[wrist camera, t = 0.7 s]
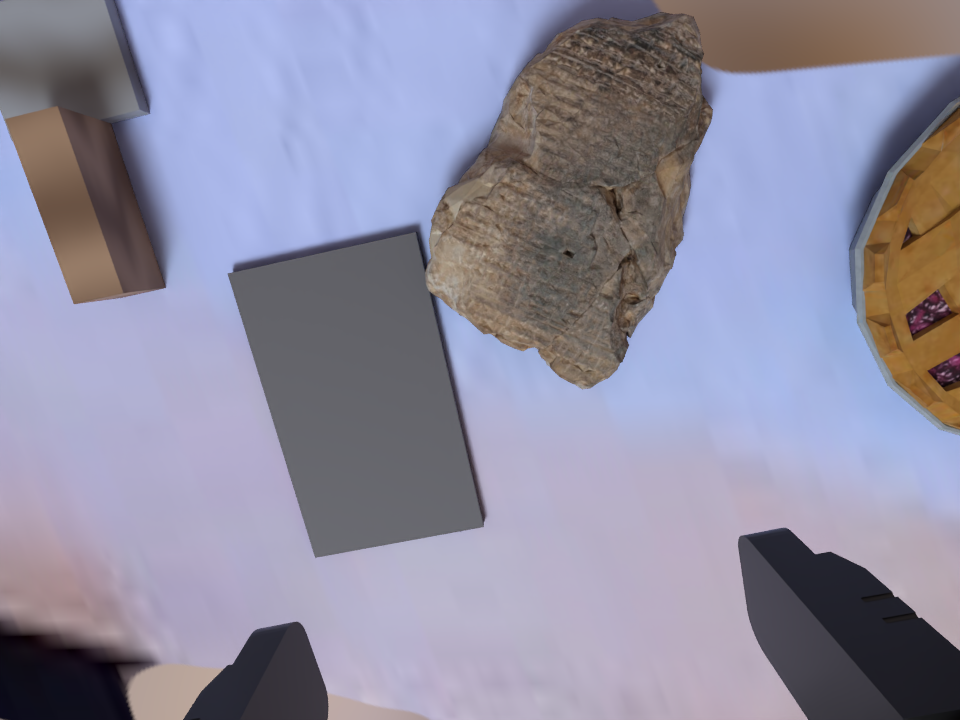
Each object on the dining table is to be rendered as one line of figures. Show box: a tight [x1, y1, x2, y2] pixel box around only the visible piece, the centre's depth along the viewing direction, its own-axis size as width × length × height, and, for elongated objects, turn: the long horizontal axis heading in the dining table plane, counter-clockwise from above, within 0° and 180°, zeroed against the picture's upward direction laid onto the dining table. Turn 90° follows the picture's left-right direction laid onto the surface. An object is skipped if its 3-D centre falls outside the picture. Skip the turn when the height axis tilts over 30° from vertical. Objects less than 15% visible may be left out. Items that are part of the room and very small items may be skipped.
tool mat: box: [228, 232, 484, 558], centre depth 34 cm, size 20×12×1 cm, turn 12°
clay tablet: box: [425, 12, 713, 389], centre depth 30 cm, size 14×5×20 cm
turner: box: [0, 0, 166, 304], centre depth 30 cm, size 17×8×4 cm, turn 12°
